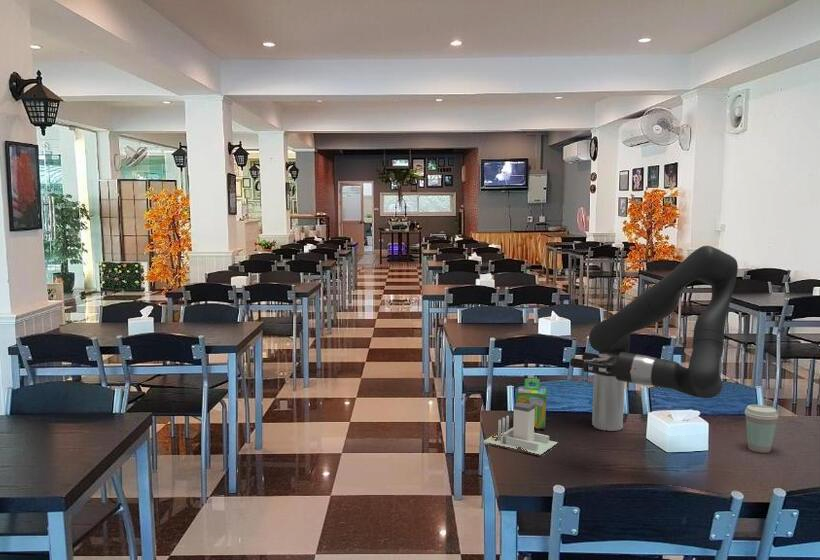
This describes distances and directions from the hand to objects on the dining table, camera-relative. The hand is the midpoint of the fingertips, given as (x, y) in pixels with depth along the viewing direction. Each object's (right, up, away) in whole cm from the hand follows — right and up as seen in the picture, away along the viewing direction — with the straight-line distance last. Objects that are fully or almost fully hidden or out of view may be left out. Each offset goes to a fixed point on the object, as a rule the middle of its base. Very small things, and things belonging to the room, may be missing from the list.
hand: (576, 358), depth 181 cm
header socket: (-13, -26, +12) cm, 32 cm away
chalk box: (-7, -25, +30) cm, 39 cm away
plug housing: (-13, -25, +11) cm, 31 cm away
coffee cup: (+55, -27, +10) cm, 62 cm away
